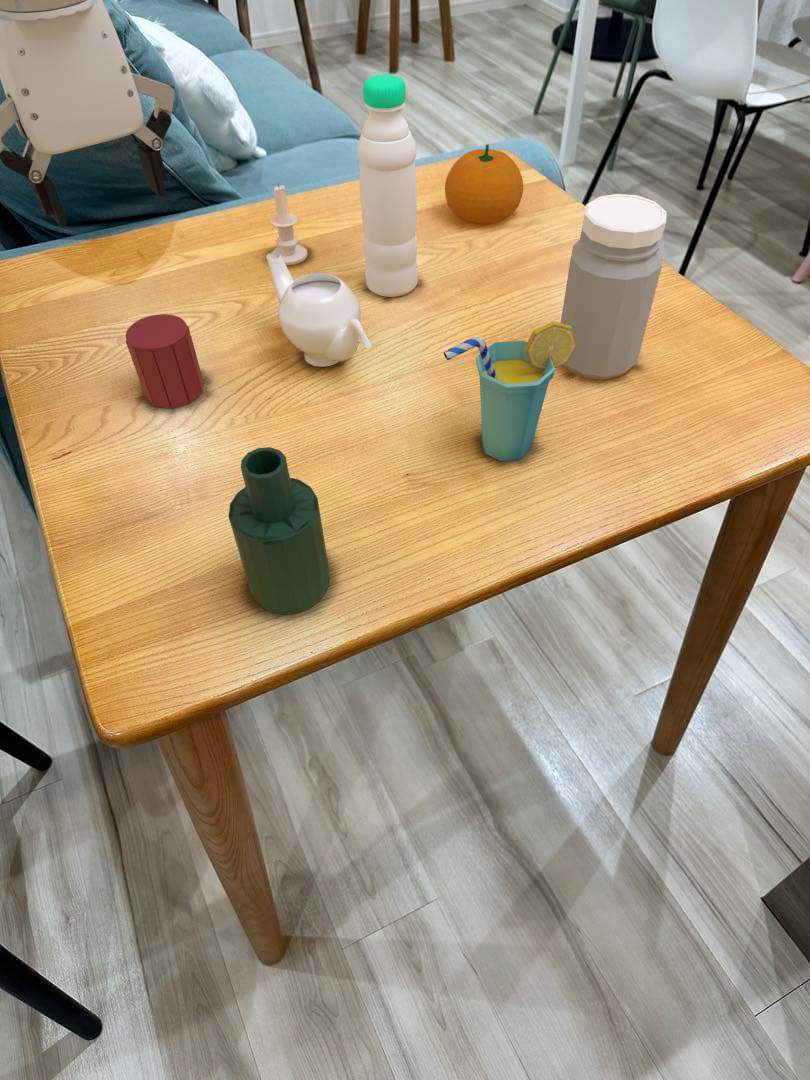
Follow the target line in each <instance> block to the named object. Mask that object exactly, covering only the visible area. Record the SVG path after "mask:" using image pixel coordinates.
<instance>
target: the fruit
mask: <svg viewBox="0 0 810 1080" xmlns="http://www.w3.org/2000/svg"><path fill="white" fill-rule="evenodd" d="M523 194H524V180H523V176H522V173H521V171H520V168H519V166H518V165H517V163H516V162H515V160H513V159H512V158H511V157H510V156H509V155H508V154H507V153H505V152H503V151H501V150H497V149H491V148H490V144H486V145H485V148H479V149H473V150H470V151H467V152H465V153H464V154H463V155H462V156H460V157H459V158H458V159H457V160H456V161H455V162H454V163H453V165H452V166H451V168H450V170H449V171H448V174H447V176H446V178H445V183H444V195H445V200H446V203H447V204H446V205H447V206H448V208H449V209H450V210H451V212H452V213H453V214H454V215H455V216H456V217H458V218H459V219H461V220H463V221H464V222H468V223H471V224H479V225H487V224H489V225H490V224H495V223H498V222H501V221H503V220H506V219H507V218H509V217H510V216H512V214H513V213H515V212H516V211H517V209H518V208H519V205H520V204H521V200H522V197H523Z"/></svg>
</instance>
